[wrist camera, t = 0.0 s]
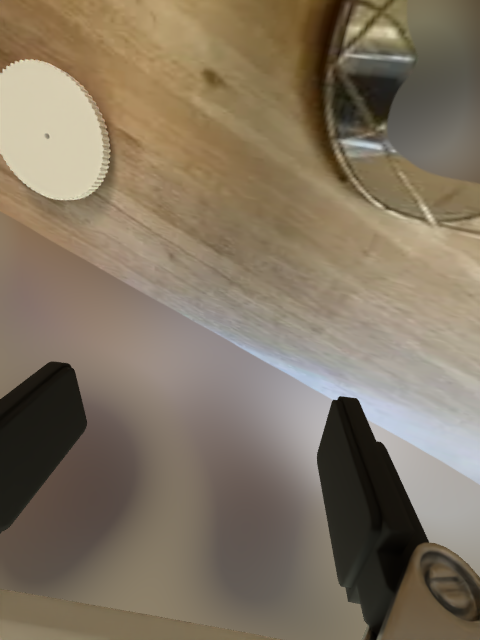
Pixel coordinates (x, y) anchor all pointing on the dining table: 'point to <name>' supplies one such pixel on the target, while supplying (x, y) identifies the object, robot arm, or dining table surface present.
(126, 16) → the dining table surface
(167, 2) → the dining table surface
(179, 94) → the dining table surface
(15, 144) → the plastic lid
